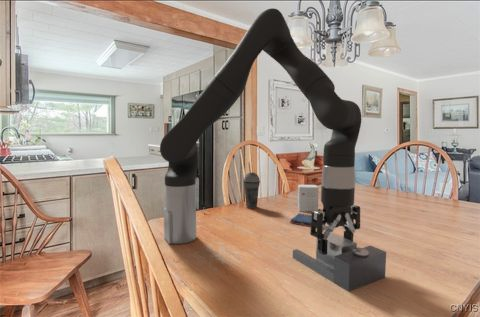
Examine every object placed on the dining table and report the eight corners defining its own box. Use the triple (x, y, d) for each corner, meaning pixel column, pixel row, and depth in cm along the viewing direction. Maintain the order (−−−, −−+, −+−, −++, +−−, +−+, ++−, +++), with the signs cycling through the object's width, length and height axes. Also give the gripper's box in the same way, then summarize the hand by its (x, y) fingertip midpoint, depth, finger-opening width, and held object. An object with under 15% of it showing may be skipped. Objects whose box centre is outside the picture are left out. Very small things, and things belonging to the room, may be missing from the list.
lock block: (342, 277, 63) (343, 247, 62) (315, 262, 70) (316, 235, 70) (357, 272, 65) (358, 243, 65) (330, 258, 73) (330, 232, 72)
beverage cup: (260, 209, 119) (260, 163, 117) (243, 209, 119) (243, 163, 117) (259, 205, 126) (259, 161, 124) (243, 205, 126) (243, 161, 124)
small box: (316, 208, 121) (316, 184, 120) (318, 212, 115) (318, 187, 114) (297, 207, 122) (297, 184, 121) (298, 211, 116) (299, 186, 115)
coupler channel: (348, 291, 57) (349, 259, 56) (292, 257, 73) (293, 232, 72) (385, 277, 63) (386, 248, 62) (325, 248, 79) (326, 225, 78)
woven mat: (325, 221, 105) (325, 216, 104) (317, 229, 95) (317, 223, 95) (298, 217, 110) (298, 212, 110) (288, 224, 101) (288, 219, 101)
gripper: (345, 179, 73) (343, 239, 74) (304, 184, 66) (302, 250, 67) (371, 184, 66) (368, 250, 67) (327, 190, 59) (325, 262, 61)
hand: (335, 250), depth 67 cm, fingers open, 8 cm apart
